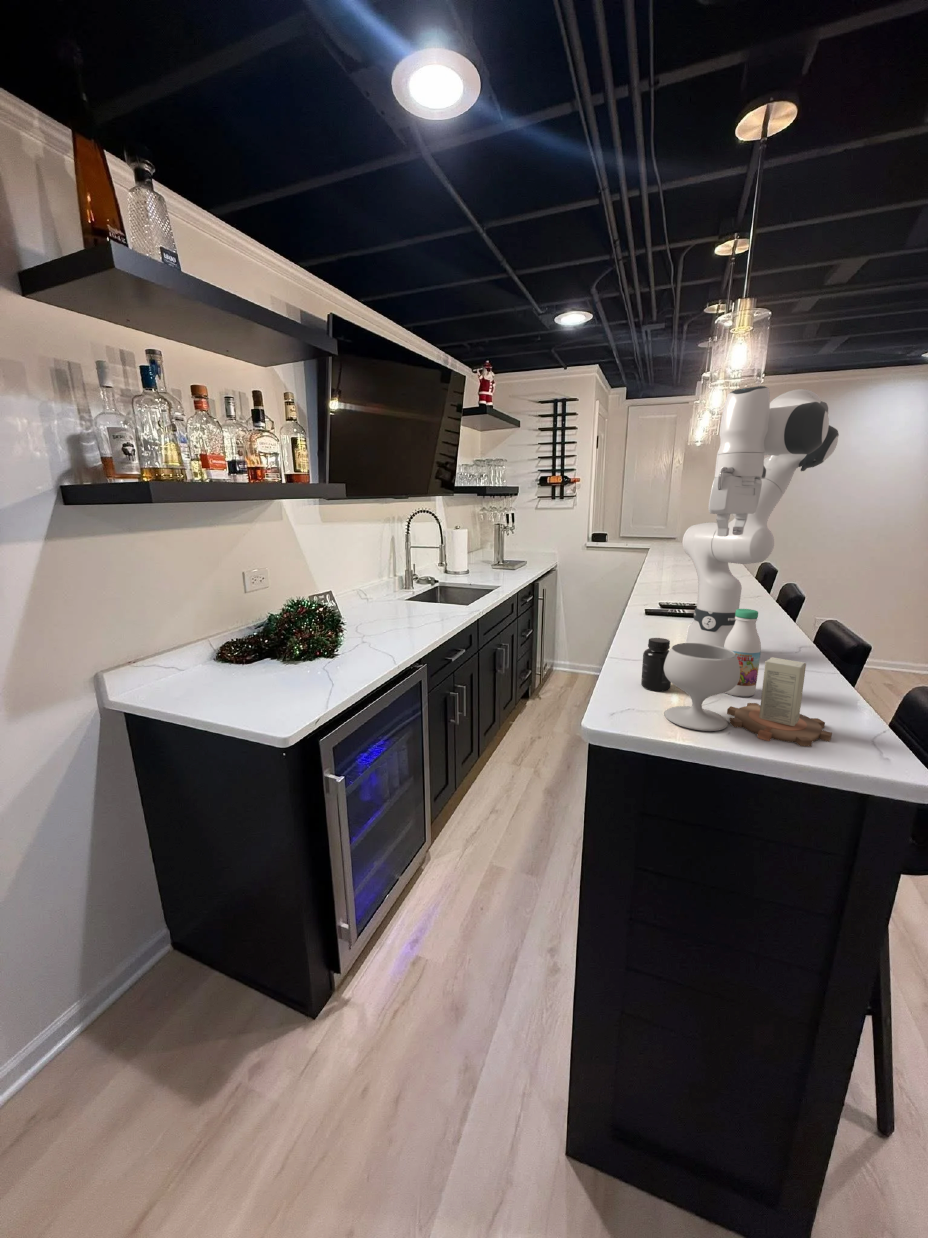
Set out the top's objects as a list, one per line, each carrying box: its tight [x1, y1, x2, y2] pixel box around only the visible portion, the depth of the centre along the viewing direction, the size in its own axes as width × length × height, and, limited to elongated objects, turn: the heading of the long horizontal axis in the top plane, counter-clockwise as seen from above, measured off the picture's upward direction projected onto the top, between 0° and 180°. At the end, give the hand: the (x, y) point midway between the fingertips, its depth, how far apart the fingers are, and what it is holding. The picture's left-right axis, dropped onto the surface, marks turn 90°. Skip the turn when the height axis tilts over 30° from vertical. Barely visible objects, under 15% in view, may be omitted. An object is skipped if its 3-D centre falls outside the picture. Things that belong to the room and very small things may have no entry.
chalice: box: [663, 642, 740, 732], centre depth 101 cm, size 14×14×15 cm
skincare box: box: [759, 656, 807, 726], centre depth 99 cm, size 6×4×12 cm
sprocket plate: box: [726, 702, 833, 747], centre depth 100 cm, size 18×18×1 cm
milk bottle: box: [723, 608, 762, 698], centre depth 117 cm, size 8×8×20 cm
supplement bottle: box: [640, 637, 672, 692], centre depth 121 cm, size 7×7×12 cm
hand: (730, 535), depth 108 cm, fingers open, 8 cm apart
